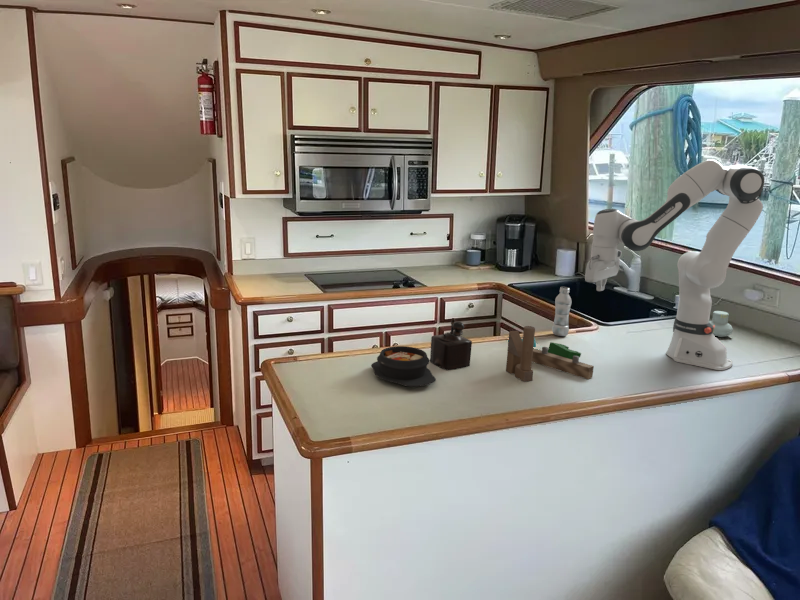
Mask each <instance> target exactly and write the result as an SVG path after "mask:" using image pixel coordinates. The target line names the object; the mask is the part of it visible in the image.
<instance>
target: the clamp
mask: <svg viewBox="0 0 800 600" xmlns="http://www.w3.org/2000/svg"><path fill="white" fill-rule="evenodd" d="M548 353H551V354H555V355H558V356H561V357H565V358H568V359H572V360H573V356H579V358H581V356H582V353H581V352H579V351H577V350H572V349H570V347H569V346H567V345H565V344H562V343H558V342H552V341H550V342H549V345H548Z"/></svg>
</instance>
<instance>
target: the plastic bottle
mask: <svg viewBox="0 0 800 600" xmlns="http://www.w3.org/2000/svg"><path fill="white" fill-rule="evenodd" d="M570 290H571V289H570V287H567V286H560V288H559V294H557V295H556V297H555V299H554V300H555V301H554V302H555V304H554V305H555V306H554V307H555V309H554V310H555V311H554V312H555V313H554V320H553V324H552V326H551V327H552V328H551V331H552V334H553V335H554V336H556V337H566V336H567V335H568V334H569V331H570V330H569V329H570V328H569V327H570V326H569V318H570V317H569V316H570V315H569V314H570V310H571V306H572V298H571V296H570V294H569V293H570Z"/></svg>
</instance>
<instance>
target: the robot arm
mask: <svg viewBox="0 0 800 600" xmlns="http://www.w3.org/2000/svg"><path fill="white" fill-rule="evenodd" d="M764 186H765V176H764V174H763V173H762V171H761V170H760V169H757V168H756V167H755V166H754V167H753V166H748V165H743V164H736V165H733V164H732V165H731V164H730V165H728V164H727V165H724V166H723V165H722V164H721V163H720V162H719V161H717V160H715V159H709V158H708V159H706V160H704V161H702V162H700V163H698V164H696V165H694V166H693V167H691V168H689V169H688V170H686V171H685V172H684V173H682V174H681V175H679V176H678V177H677V178H675V179H674V181H673V182H672V183H671V184H670V185H669V186H668V188H667V193H666V194H667V195H666V196H667V198H666V200H665V202H664V203H663V204H662V205H661V206H660V207H659V208H657V209H656V210H655V211H654V212H652V213H651V214H650V215H649V216H648V217H645V218H644V219H642V220H639V219H635V218H633V217H630V216H628V215H626V214H624V213H623V212H621V211H620V210H619V209H618V208H606V209H602V210H599V211H598V212H597V213H596V214H595V218H594V222H593V227H592V236H593V239H592V243H591V248H590V249H591V252H590V260H589V261H588V262H586V263H587V264H586V268H585V272H584V273H585V275H584V279H585V282H587V283H592V284H593V283H595V285H596V291H597V292H603V291H604V290H605V289H606V288H605V287H606V284H607V281H608V278H611V277H616V276H618V273H619V270H620V265H621V264H620V262H621V257H622V253H623V252H622V250H620V249H618V245H619V244H622V245H624V246H625V247H626V248H627V249H628V250H630V251H633V252H640V251H645V250H646V249H647V248H649V247H650V246H651V244H652V243H653V242H654V240H655V238H656V236H657V235H658V234H659V233H660V232H661V231H662V230H664V229H665V228H666V227H667V226H669V225H670V224H671V223H672V222H673V221H676V219H677V218H678V217H679V216H681V215H682V214H683V213H685V212H686V211H687V210H688V209H690V208H691V207H693V206H694V205H695V204H697V203H699V202H700V201H702V200H703V199H704V198H706V197H707V196H708V195H709V194H710V193H712V192H714V191H715V192H717V193H719V194H721V195H723V196H728V204H727V205H726V208H725V209H724V210H723V211H722V213H721V214H720V216H719V217H718V218H717V219H716V220H715V222H714V224H712V227H711V228H710V229H709V230H708V232H707V233H706V236H705V237H706V239H705V241H704V245H703V246H702V249H701V251H687V252H685V253H683V254H681V256H680V257H679V258H678V261H677V265H676V266H677V270H678V292H679V293H678V295H679V296H678V297H679V298H678V299H679V300H678V303H677V311H676V317H675V318H674V321H673V326H672V332H673V333H672V336H671V339H670V340H671V341H670V342H669V345H668V348H667V350H666V352H665V354H666V355H667V356H668V357H670V359H672V360H673V361H674V362H677V363H681V364H686V365H689V366H690V365H691V366H696V367H701V368H705V369H709V370H710V369H711V370H714V371H724V370H727V369H729V368H731V367H732V366H733V361H732V360H731V359H730V358H727V357H728V356H727V354H728V352H727V347H726V345H725V344H724V343H722V341H720V339H719V338H718V337H715V336H714V335H713V334H712V333H713V329H714V327H715V325H714V326H712V325H711V324H710V323H709V321H710V316H711V310H712V304H713V300H712V296H711V289H715V288H718V287H720V286H721V285H723V284H724V282H725V281H726V277H727V270H728V268H729V265H730V262H731V260H732V259H733V257H734V254H735V252H736V251H737V249H738V247H740V245H741V244H742V242H743V241H744V239H745V238H746V237H747V235H749V233H750V232H751V230H752V229H753V227H754V226H755V225H756V222H757V221H758V219H759V217H760V216H761V213H762V211H763V210H764V209H763V208H764V205H763V202H762V201H761V200H760V198H761V195H762V191H763V189H764Z"/></svg>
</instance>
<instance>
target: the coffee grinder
mask: <svg viewBox="0 0 800 600" xmlns="http://www.w3.org/2000/svg"><path fill="white" fill-rule="evenodd" d="M450 325H451V326H450V331H449V332H445V333H443V334H436V335H431V338H430V340H431V341H430V358H429V360H430V362H429V363H432V364H433V365H435V366H436V367H439V368H440V369H442V370H445V371H453V370H460V369H465V368H469V367H470V365H471V356H472V347H473V346H472V345H473V341H472V340H470V339H469V338H466V337H464V336H463V334H464V331H463V330H464V328H465V325H464V323H463V322H462V321H457V320H456V318H453V317H452V318H451V320H450Z"/></svg>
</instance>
